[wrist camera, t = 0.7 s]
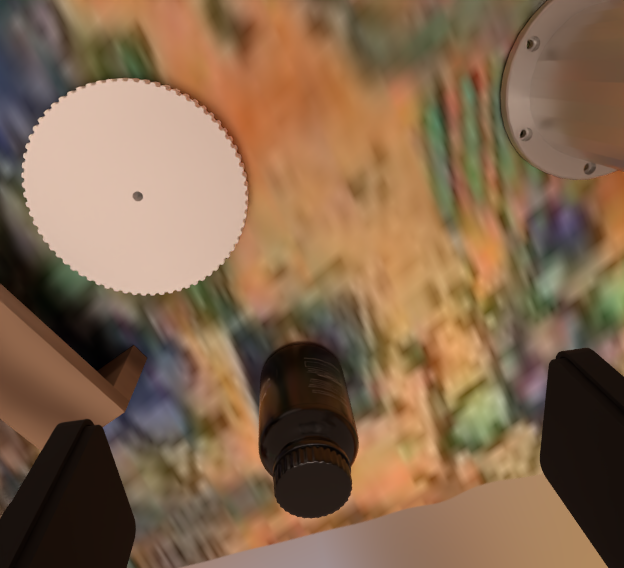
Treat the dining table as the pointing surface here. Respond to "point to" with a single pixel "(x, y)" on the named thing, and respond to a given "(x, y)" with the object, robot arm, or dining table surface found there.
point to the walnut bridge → (55, 377)
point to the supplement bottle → (307, 430)
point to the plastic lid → (135, 186)
